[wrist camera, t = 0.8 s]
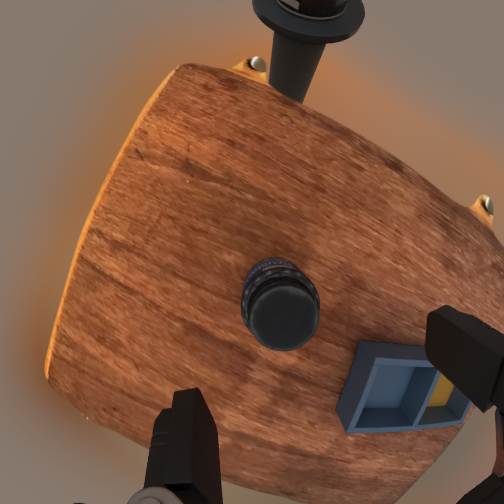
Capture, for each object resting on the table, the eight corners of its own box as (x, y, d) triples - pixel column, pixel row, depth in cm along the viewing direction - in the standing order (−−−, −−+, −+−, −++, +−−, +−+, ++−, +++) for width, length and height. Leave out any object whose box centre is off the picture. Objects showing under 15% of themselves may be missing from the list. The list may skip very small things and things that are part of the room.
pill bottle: (285, 246, 30) (304, 256, 19) (314, 296, 30) (345, 332, 19) (232, 277, 30) (221, 304, 19) (262, 326, 30) (267, 375, 19)
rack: (359, 339, 31) (376, 357, 26) (469, 348, 31) (490, 361, 26) (335, 409, 31) (345, 433, 26) (444, 407, 31) (461, 424, 26)
